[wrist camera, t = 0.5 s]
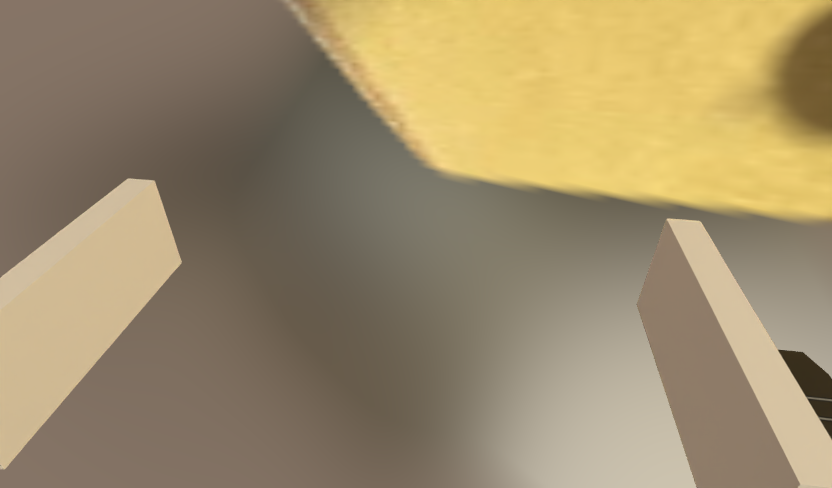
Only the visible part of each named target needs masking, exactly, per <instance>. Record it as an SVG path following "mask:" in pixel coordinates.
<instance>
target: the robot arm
mask: <svg viewBox="0 0 832 488" xmlns="http://www.w3.org/2000/svg"><path fill="white" fill-rule="evenodd" d="M181 263H182V262H181V259H180V256H179V253H178V250H177V247H176V244H175V241H174V238H173V235H172V232H171V229H170V226H169V223H168V220H167V217H166V214H165V210H164V208H163V205H162V201H161V198H160V196H159V192H158V190H157V187H156V184H155V181H153V180H140V179H127V180H126V181H124V182H123V183H122V184H120V185H119V186H118V187H117V188H115V189H114V190H113V191H112V192H110V193H109V194H108V195H106V196H105V197H104V198H102V199H101V200H100V201H99V202H97V203H96V204H95V205H93V206H92V207H91V208H89V209H88V210H87V211H86V212H84V213H83V214H82V215H81V216H79V217H78V218H77V219H75V220H74V221H73V222H72V223H70V224H69V225H68V226H66V227H65V228H64V229H62V230H61V231H60V232H59V233H57V234H56V235H55V236H53V237H52V238H51V239H49V240H48V241H47V242H46V243H44V244H43V245H42V246H40V247H39V248H38V249H37V250H35V251H34V252H33V253H31V254H30V255H29V256H28V257H26V258H25V259H24V260H22V261H21V262H20V263H18V265H16V266H15V267H13V268H12V269H11V270H10V271H8V272H7V273H6V274H4V275H3V276H1V277H0V469H5V468H6V467H7V466H8V464H10V462H11V461H12V460H13V459H14V458H15V457H16V456H17V454H18V453H19V452H20V451H21V450H22V448H23V447H24V446H25V445H26V444H27V443H28V441H29V440H30V439H31V438H32V437H33V436H34V434H35V433H36V432H37V431H38V430H39V429H40V427H41V426H42V425H43V424H44V423H45V422H46V420H47V419H48V418H49V417H50V416H51V415H52V413H53V412H54V411H55V410H56V409H57V408H58V406H59V405H60V404H61V403H62V402H63V401H64V399H65V398H66V397H67V396H68V395H69V394H70V392H71V391H72V390H73V389H74V388H75V386H76V385H77V384H78V383H79V382H80V381H81V380H82V378H83V377H84V376H85V375H86V374H87V373H88V371H89V370H90V369H91V368H92V367H93V366H94V364H95V363H96V362H97V361H98V360H99V358H100V357H101V356H102V355H103V354H104V353H105V352H106V350H107V349H108V348H109V347H110V346H111V345H112V343H113V342H114V341H115V340H116V339H117V337H118V336H119V335H120V334H121V333H122V332H123V330H124V329H125V328H126V327H127V326H128V325H129V323H130V322H131V321H132V320H133V319H134V318H135V316H136V315H137V314H138V313H139V311H140V310H141V309H142V308H143V307H144V306H145V305H146V304H147V302H148V301H149V300H150V299H151V298H152V297H153V295H154V294H155V293H156V292H157V291H158V289H159V288H160V287H161V286H162V285H163V284H164V283H165V281H166V280H167V279H168V278H169V277H170V276H171V274H172V273H173V272H174V271H175V270H176V269H177V267H178V266H179V265H180V264H181ZM637 307H638V310H639V313H640V316H641V319H642V322H643V325H644V328H645V331H646V334H647V337H648V340H649V343H650V347H651V349H652V352H653V355H654V359H655V362H656V365H657V368H658V371H659V374H660V377H661V380H662V383H663V386H664V389H665V392H666V395H667V398H668V401H669V404H670V408H671V411H672V414H673V417H674V420H675V423H676V426H677V429H678V432H679V435H680V438H681V441H682V444H683V447H684V450H685V453H686V456H687V460H688V462H689V465H690V469H691V472H692V475H693V478H694V481H695V484H696V487H697V488H832V379H831V377H830V376H829V374H827V373H826V372H825V371H824V370H823V369H822V368H820V367H819V366H818V365H817V364H816V363H815V362H813V361H812V360H811V359H810V358H809V357H808V356H807V355H805V354H804V353H803V352H796V351H785V350H777V348H776V346H775V345H774V343H773V341H772V340H771V338H770V336H769V335H768V333H767V331H766V330H765V328H764V326H763V325H762V323H761V322H760V320H759V318H758V316H757V315H756V313H755V311H754V310H753V308H752V306H751V305H750V303H749V301H748V300H747V298H746V296H745V295H744V293H743V291H742V290H741V288H740V286H739V285H738V283H737V281H736V280H735V278H734V277H733V275H732V273H731V272H730V270H729V268H728V267H727V265H726V263H725V262H724V260H723V258H722V256H721V255H720V253H719V252H718V250H717V248H716V246H715V245H714V243H713V242H712V240H711V238H710V237H709V235H708V233H707V232H706V230H705V228H704V226H703V225H702V223H701V222H700V221H691V220H679V219H666V222H665V225H664V227H663V231H662V233H661V236H660V239H659V242H658V245H657V248H656V251H655V253H654V256H653V259H652V262H651V265H650V268H649V271H648V274H647V276H646V279H645V282H644V285H643V288H642V291H641V294H640V297H639V300H638V302H637Z"/></svg>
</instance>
